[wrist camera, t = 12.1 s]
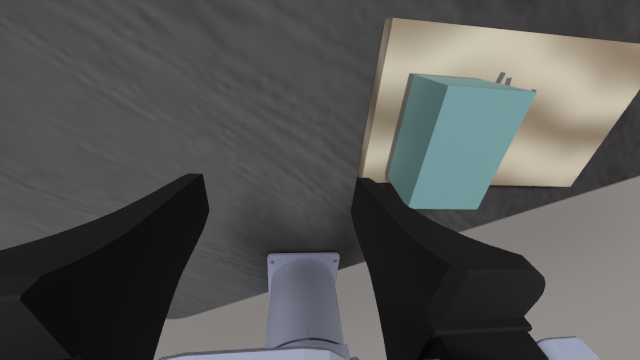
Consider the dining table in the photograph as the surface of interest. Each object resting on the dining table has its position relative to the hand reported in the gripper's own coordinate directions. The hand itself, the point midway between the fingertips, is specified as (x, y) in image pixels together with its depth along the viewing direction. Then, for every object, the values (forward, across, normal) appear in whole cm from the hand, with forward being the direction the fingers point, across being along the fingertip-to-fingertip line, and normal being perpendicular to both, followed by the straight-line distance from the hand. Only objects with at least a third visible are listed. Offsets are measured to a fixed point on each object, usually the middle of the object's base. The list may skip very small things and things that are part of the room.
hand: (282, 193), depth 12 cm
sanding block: (+8, -11, -1) cm, 14 cm away
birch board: (+9, -17, -2) cm, 20 cm away
